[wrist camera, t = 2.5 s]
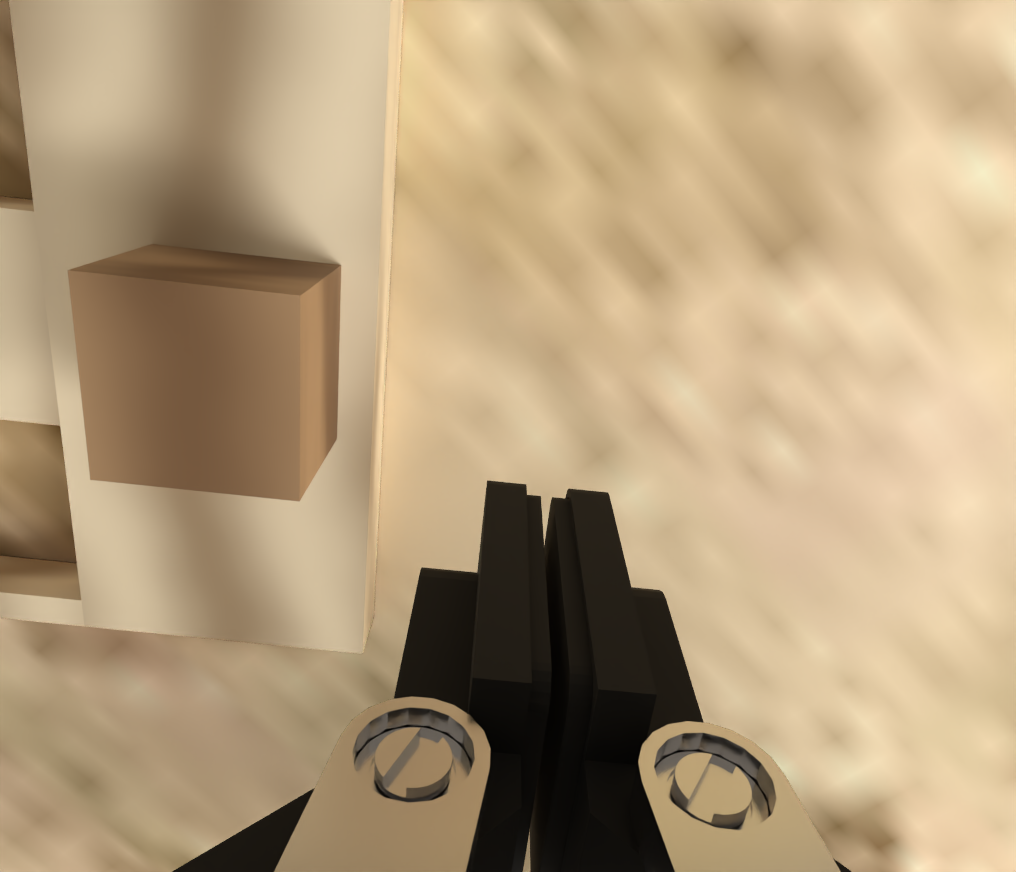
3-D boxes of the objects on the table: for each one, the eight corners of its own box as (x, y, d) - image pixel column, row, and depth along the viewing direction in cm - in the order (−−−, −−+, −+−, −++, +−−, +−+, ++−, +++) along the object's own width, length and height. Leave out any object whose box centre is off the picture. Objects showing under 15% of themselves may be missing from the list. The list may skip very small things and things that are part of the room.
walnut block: (341, 264, 20) (300, 295, 17) (336, 438, 22) (299, 501, 18) (151, 244, 20) (67, 270, 16) (163, 420, 22) (90, 479, 18)
